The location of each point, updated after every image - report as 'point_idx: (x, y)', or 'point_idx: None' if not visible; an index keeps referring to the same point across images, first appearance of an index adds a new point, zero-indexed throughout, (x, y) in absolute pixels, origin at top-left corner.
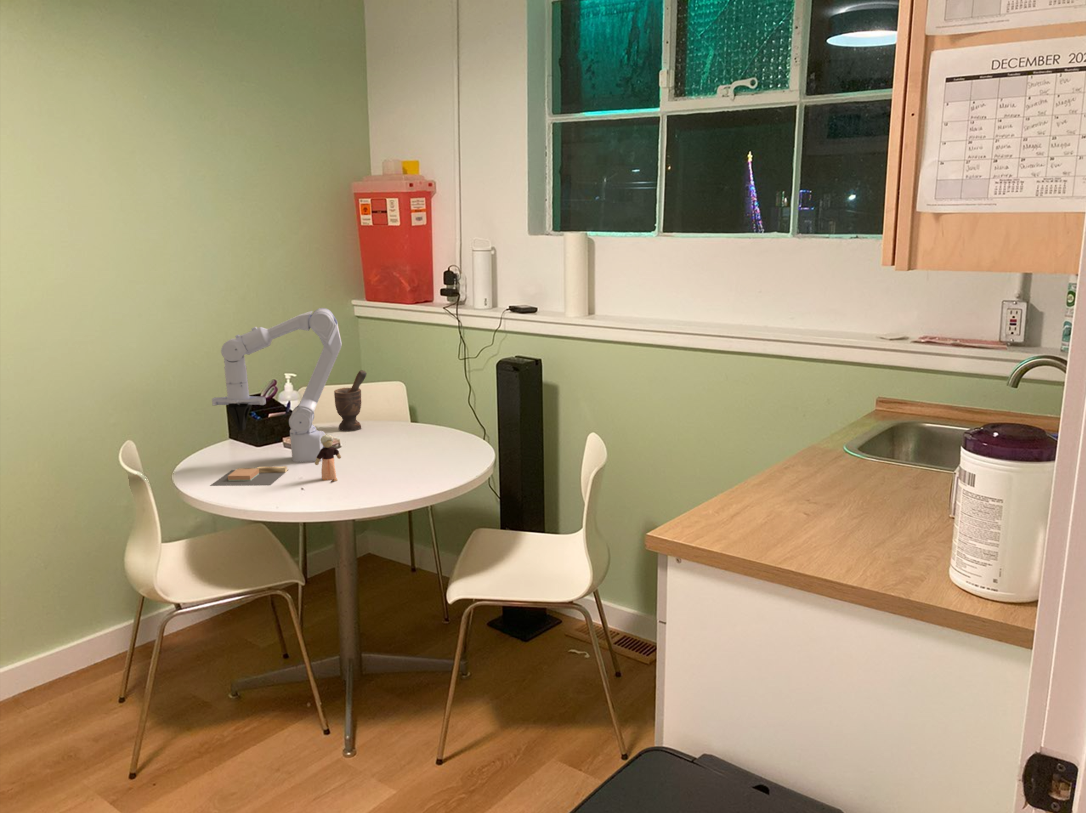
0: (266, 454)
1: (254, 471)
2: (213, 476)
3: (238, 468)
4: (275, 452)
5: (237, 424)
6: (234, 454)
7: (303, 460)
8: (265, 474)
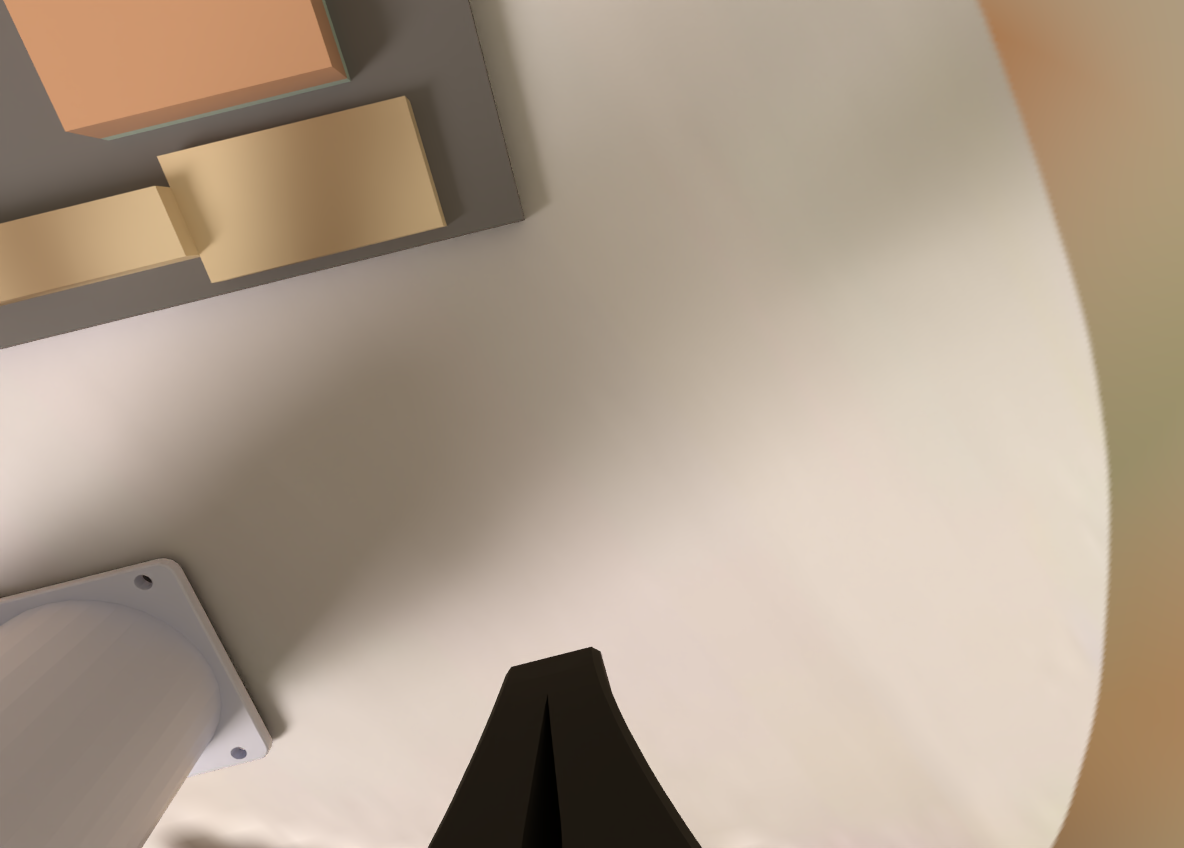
0: None
1: (25, 14)
2: (637, 61)
3: (433, 218)
4: None
5: (586, 733)
6: (841, 692)
7: (8, 624)
8: (22, 141)
